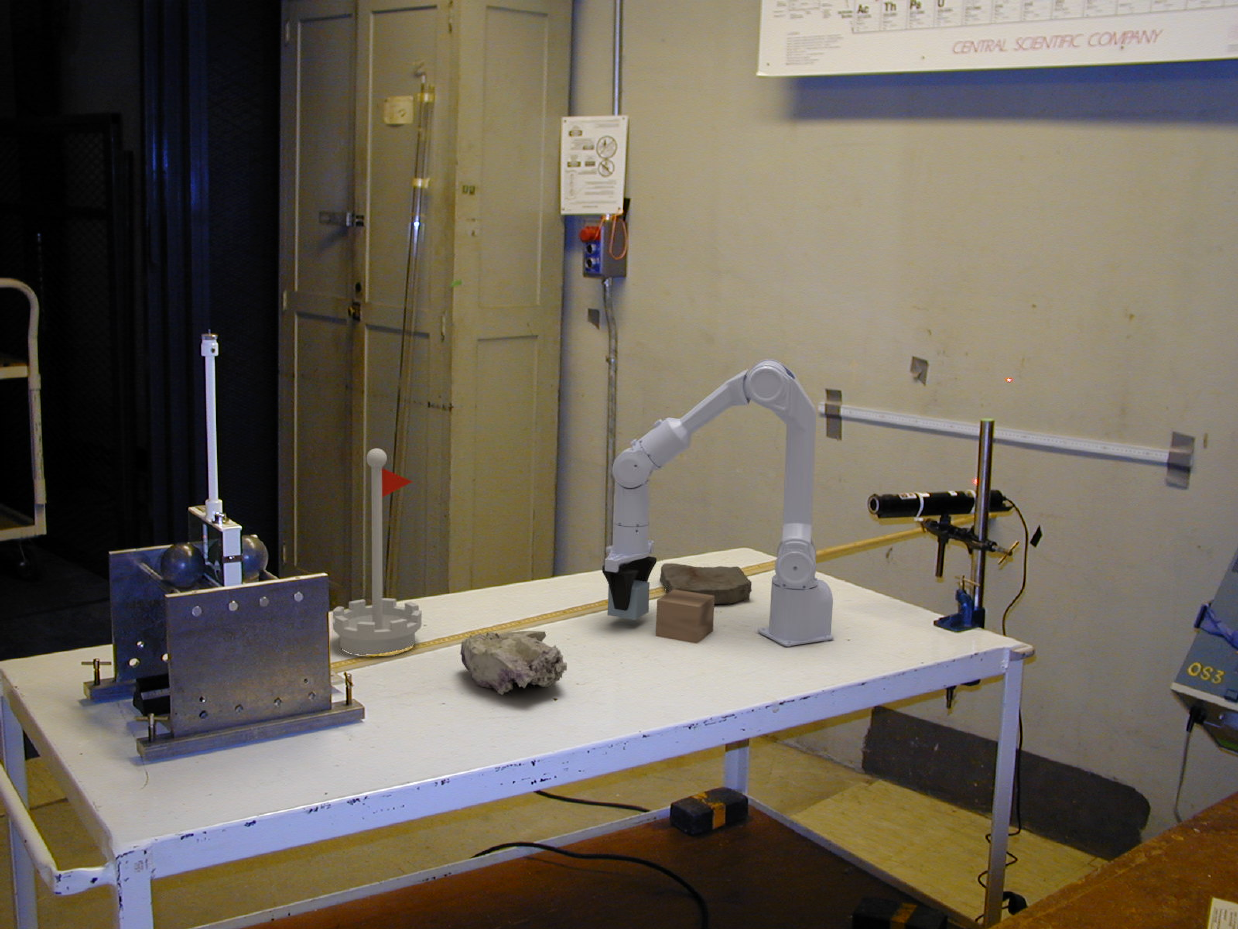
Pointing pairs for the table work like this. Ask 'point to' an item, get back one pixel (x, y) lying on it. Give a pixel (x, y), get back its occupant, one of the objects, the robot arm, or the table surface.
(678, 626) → the wood grain block
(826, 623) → the robot arm
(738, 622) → the table surface
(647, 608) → the slate cube
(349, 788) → the table surface
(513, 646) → the geode
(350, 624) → the flag stand
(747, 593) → the flat brown rock
